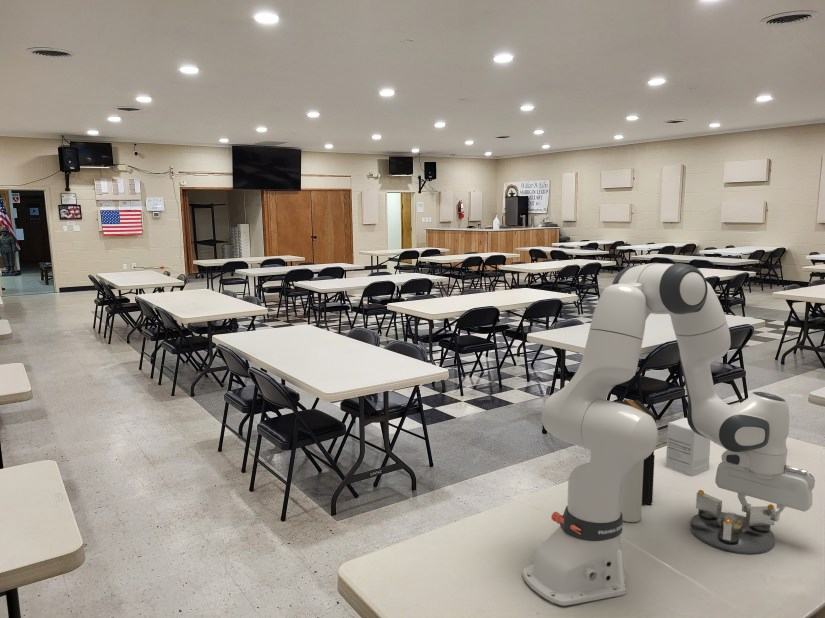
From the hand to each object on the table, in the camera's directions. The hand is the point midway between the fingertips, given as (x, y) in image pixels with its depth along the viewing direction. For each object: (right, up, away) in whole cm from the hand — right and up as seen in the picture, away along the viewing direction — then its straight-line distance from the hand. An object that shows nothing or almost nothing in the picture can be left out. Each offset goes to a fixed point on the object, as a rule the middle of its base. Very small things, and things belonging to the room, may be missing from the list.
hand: (760, 515), depth 148 cm
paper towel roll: (-27, -4, +10) cm, 30 cm away
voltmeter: (-22, -2, +24) cm, 33 cm away
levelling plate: (-6, -5, +1) cm, 8 cm away
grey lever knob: (0, -3, 0) cm, 3 cm away
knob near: (-10, -4, -5) cm, 12 cm away
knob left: (-9, -2, +7) cm, 12 cm away
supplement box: (0, 0, +40) cm, 40 cm away
